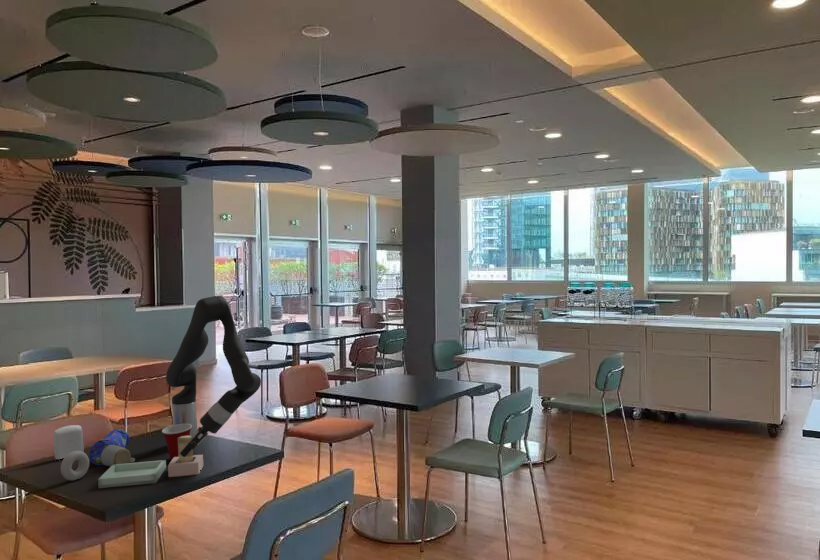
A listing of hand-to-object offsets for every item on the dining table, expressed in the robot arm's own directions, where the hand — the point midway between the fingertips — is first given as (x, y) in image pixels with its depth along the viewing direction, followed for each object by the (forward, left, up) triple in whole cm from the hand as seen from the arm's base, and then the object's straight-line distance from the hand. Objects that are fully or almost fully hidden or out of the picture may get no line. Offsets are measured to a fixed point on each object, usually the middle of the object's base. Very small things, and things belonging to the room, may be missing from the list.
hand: (184, 451), depth 216 cm
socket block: (0, 0, -7) cm, 7 cm away
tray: (+2, -17, -7) cm, 18 cm away
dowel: (0, 0, -7) cm, 7 cm away
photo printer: (-33, -50, -7) cm, 60 cm away
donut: (-2, -37, -7) cm, 37 cm away
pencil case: (-27, -33, -7) cm, 43 cm away
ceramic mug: (-15, -26, -7) cm, 31 cm away
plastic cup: (-17, -6, -7) cm, 19 cm away
